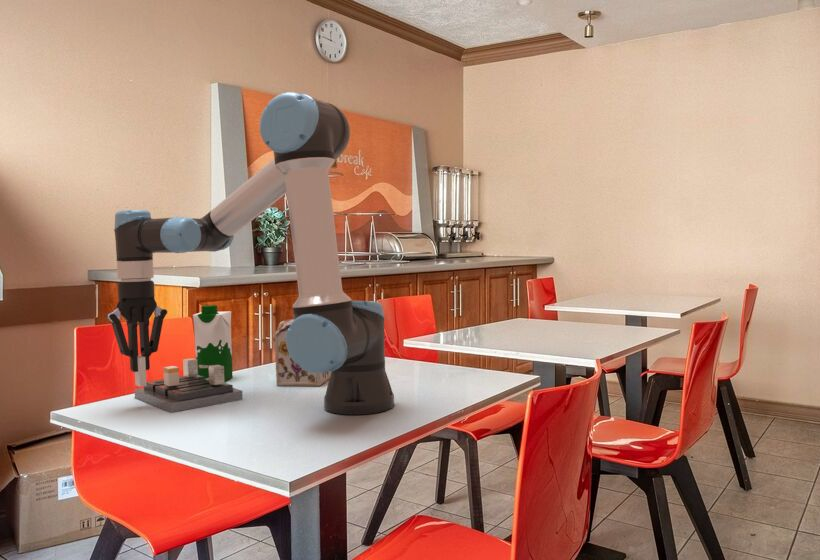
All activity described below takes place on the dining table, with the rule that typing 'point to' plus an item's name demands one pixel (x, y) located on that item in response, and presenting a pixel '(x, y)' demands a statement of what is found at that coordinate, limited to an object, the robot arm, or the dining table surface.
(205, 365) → the milk carton
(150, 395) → the breaker panel
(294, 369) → the decorative jar
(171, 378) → the toggle
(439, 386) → the dining table surface
